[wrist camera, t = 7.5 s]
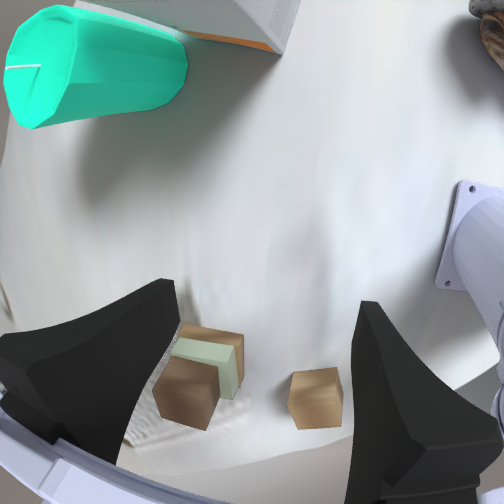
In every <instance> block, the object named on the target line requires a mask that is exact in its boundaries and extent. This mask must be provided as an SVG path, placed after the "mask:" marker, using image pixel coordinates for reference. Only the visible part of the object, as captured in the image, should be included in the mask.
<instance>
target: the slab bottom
mask: <svg viewBox="0 0 504 504" xmlns="http://www.w3.org/2000/svg"><path fill="white" fill-rule="evenodd" d="M179 337H181V338H187V339H193V340H199V341H205V342H212V343H218V344H225V345H232V346H234V349H235V357H236V365H237V373H238V381H239V385H238V387H240V386H241V383H242V381H243V378H244V335H243V334H237V333H231V332H226V331H221V330H215V329H210V328H205V327H200V326H195V325H190V324H184V325H183V327H182V328H181V330H180V331H179V333H178V338H179Z"/></svg>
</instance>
